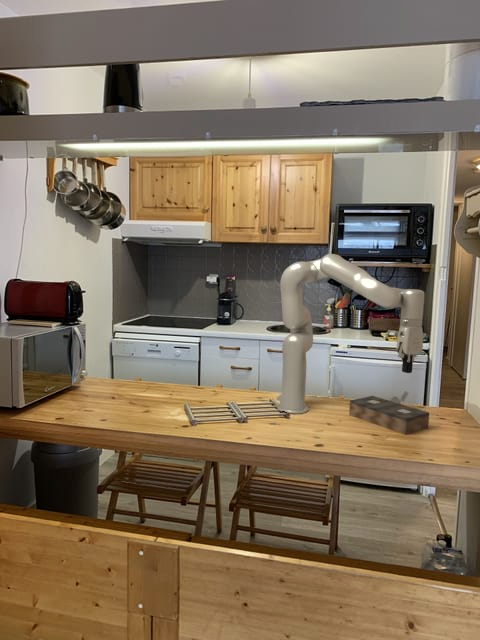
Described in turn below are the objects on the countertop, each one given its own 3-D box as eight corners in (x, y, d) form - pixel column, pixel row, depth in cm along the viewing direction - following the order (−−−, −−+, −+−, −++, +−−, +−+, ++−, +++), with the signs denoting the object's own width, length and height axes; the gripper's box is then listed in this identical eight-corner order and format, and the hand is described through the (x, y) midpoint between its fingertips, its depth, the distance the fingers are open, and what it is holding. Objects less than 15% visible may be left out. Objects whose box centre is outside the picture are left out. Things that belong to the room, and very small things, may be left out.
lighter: (389, 409, 204) (391, 390, 203) (389, 407, 205) (390, 389, 204) (407, 410, 202) (408, 392, 201) (406, 409, 204) (408, 390, 203)
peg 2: (395, 426, 181) (396, 410, 181) (401, 424, 184) (402, 408, 183) (404, 429, 178) (405, 413, 178) (410, 427, 181) (412, 411, 180)
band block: (349, 415, 193) (350, 400, 192) (371, 409, 201) (372, 395, 200) (405, 434, 172) (406, 418, 171) (428, 428, 180) (429, 412, 180)
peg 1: (365, 415, 193) (366, 401, 192) (371, 414, 195) (372, 399, 194) (373, 418, 189) (374, 403, 189) (380, 417, 192) (381, 402, 191)
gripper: (407, 325, 169) (403, 376, 171) (432, 323, 178) (427, 372, 180) (389, 322, 175) (385, 372, 177) (414, 321, 184) (410, 368, 186)
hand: (406, 372), depth 179 cm, fingers closed
